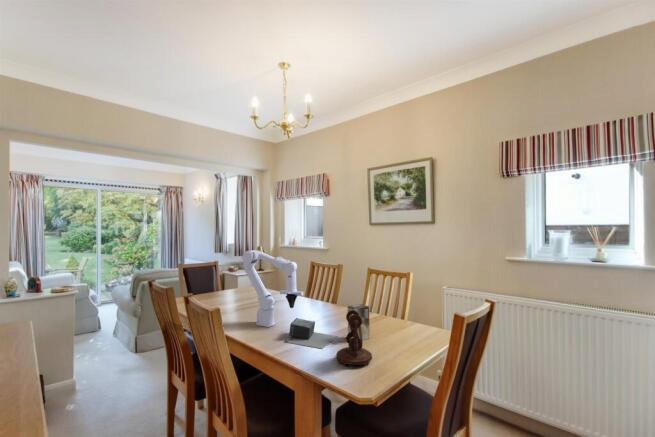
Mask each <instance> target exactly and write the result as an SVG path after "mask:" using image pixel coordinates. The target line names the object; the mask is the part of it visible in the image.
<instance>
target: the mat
mask: <svg viewBox="0 0 655 437" xmlns="http://www.w3.org/2000/svg"><path fill="white" fill-rule="evenodd" d="M337 338H338V335H332V334H329V333H328V334H327V333H322V332H321V333H320V332H316V331H314V333H313V334H312V336H311V337H310V339H309V340H308V339H303V338H298V337H293V336H290V337H289V338H287V339H285V340H284V343H287V344H293V345H298V346H303V347H307V348H308V347H309V348H314V349H320V350H323V349H325V347H326V346H328V345H330V343H331V342H333V341H334V340H335V339H337Z"/></svg>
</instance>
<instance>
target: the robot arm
mask: <svg viewBox="0 0 655 437" xmlns="http://www.w3.org/2000/svg"><path fill="white" fill-rule="evenodd" d="M241 259H242V262H243V263H242V264H243V270H244V271H245V273H246V275H247V277H248V279H249V281H250V282H251V285H252V287H253V288H254V290H255V292H256V294H257V301H258V306H259V307H260V308H258V309H257V311H256V324H255V325H256V326H259V327H266V328H270V327H272V326H275V325H277V323H278V322H277V321H275V307H274V306H275V304H276V302H277V301H276V298H275V296H273V295H272V294H271V292H270V291H268V290H267V289H266V287H265V284H264V283H263V282H262V279H261V277H260V276H259V274H258V272H257V270H256V268H255V266H256V263H257V262H258V260H263V261H265V262H268V263H271V264H273V266H274V267H275V268H278V269H280V270H283V271H285V273H286V274H285V278H286V280H285V282H286V283H285V284H286V285H285V286H286V289H285V290H284V289H282V290H281V289H280V290H279V294H280V295H285V298H286V300H287V302H288V306H289V308H290V309H294V307H295V303H296V300H297V299H298V296H300V297H303V296H304V291H302V290H301V291H300V290H297V270H298V263H297V262H295V261H293V260H291V261H290V259H285V258H283V256H277V257H274V256H272V255H269V254H267V253H265V252H263V251H261V250H257V249H253V250H246V251H245V252H244V253H242V257H241Z"/></svg>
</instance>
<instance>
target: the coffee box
mask: <svg viewBox="0 0 655 437" xmlns="http://www.w3.org/2000/svg"><path fill="white" fill-rule="evenodd" d="M351 310H355V311H357V312H358V314H359V316H360V317H361V319H362V324H361V330H362V341H365V340H369V339H371V338H370V335H371V334H370V306H369V305H365V304H362V303H361V304H354V305H347V313H348V312H349V311H351ZM350 332H351V330H350V325H349V323H348V322H347V334H348V333H350ZM357 332H358V335H359V329H358V331H357ZM359 339H360V336H359Z"/></svg>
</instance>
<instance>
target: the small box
mask: <svg viewBox="0 0 655 437" xmlns="http://www.w3.org/2000/svg"><path fill="white" fill-rule="evenodd" d="M289 326H290V327H289V333H288V334H289V336H290V337H291V336H293V337H298V338H303V339H308V340H309V339H310V337H311V336H312V334H313V333H314V332H315V326H316V321H313V320H307V319H303V318H299V317H296V318H295V319H294V320H293V321H292V322H291V323H290V324H289Z"/></svg>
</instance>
